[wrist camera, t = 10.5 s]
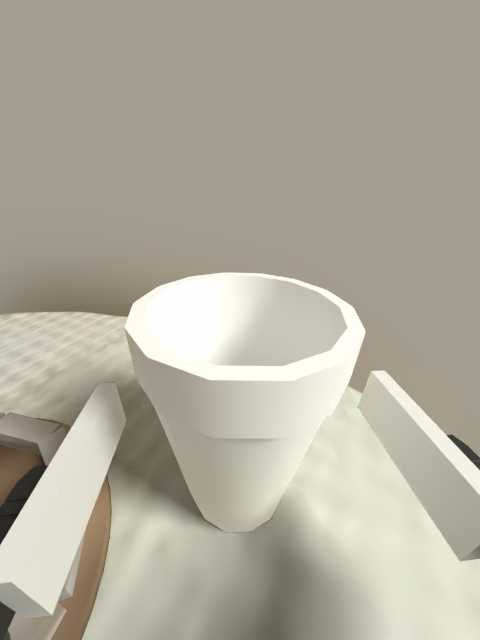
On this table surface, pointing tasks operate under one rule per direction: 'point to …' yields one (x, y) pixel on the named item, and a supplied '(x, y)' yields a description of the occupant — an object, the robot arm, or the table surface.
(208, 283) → the foam cup
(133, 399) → the table surface
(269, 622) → the table surface
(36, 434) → the plate
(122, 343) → the table surface
